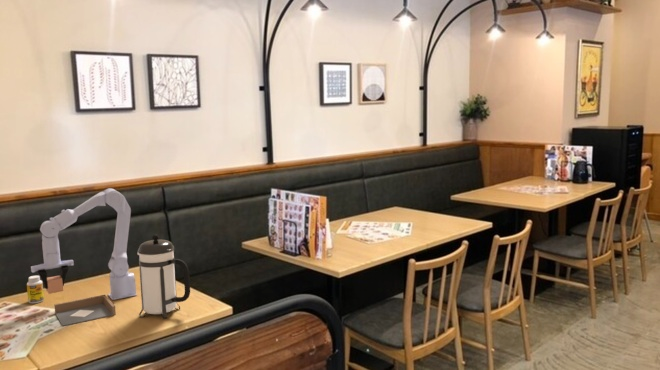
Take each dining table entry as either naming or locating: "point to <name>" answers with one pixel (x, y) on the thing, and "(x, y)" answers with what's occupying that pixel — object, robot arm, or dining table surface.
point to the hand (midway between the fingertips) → (54, 286)
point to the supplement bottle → (35, 290)
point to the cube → (54, 284)
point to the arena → (84, 310)
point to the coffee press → (160, 277)
